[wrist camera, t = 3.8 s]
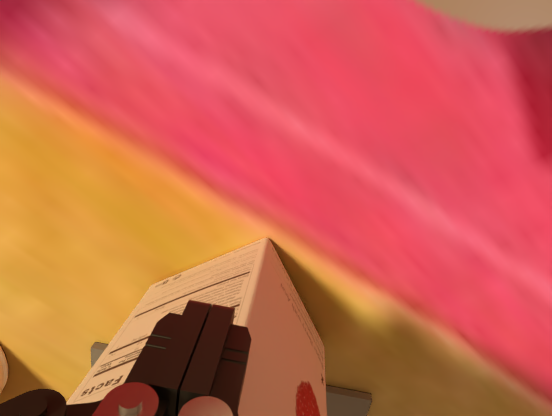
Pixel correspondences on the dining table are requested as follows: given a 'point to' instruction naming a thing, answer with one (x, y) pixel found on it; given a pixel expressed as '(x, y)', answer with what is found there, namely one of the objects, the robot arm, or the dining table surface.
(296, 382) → the supplement box
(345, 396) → the mat
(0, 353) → the white bottle
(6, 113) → the dining table surface
